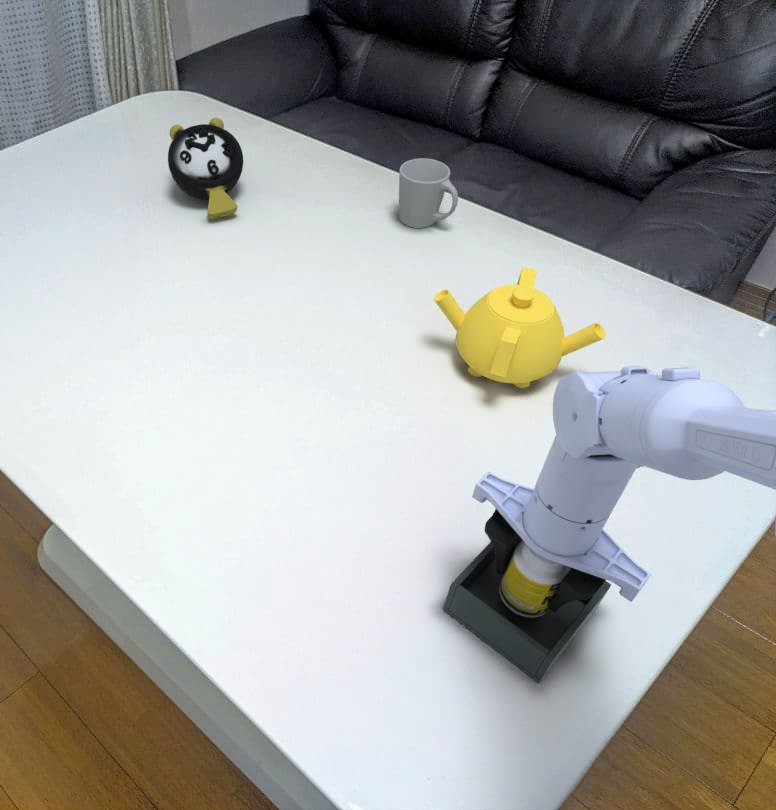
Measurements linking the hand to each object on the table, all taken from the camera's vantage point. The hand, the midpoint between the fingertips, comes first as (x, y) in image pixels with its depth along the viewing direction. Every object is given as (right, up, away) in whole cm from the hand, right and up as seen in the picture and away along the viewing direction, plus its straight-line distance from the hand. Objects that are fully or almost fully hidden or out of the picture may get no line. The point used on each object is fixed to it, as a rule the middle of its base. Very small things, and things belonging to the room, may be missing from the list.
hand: (530, 584), depth 67 cm
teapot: (+7, +22, +27) cm, 36 cm away
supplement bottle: (0, -1, +2) cm, 2 cm away
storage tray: (0, -3, +3) cm, 5 cm away
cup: (+3, +46, +51) cm, 68 cm away
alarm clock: (-31, +52, +58) cm, 84 cm away
